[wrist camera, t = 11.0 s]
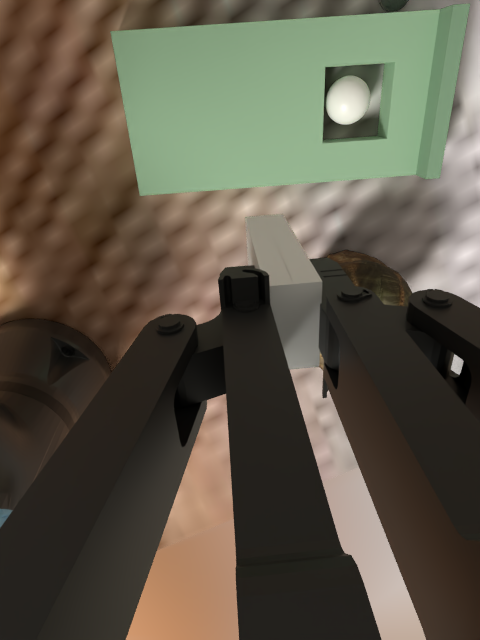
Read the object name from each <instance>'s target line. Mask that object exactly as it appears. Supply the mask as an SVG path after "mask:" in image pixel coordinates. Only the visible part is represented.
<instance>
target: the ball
mask: <svg viewBox="0 0 480 640" xmlns="http://www.w3.org/2000/svg"><path fill="white" fill-rule="evenodd" d="M369 103H370V91H369V88H368V86H367V84H366V83H365V82H364V81H363V80H362V79H361V78H359V77H356V76H345V77H342V78H340V79H338V80H337V81H335V82H334V83H333V84H332V86H331V87H330V89H329V90H328V93H327V96H326V110H327V113H328V115H329V116H330V118H331V119H332V120H333V121H335V122H336V123H339V124H343V125H347V124H352V123H354V122H356V121H358V120H359V119H360V118H362V116H363V115H364V114H365V113H366V111H367V109H368V107H369Z"/></svg>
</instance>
